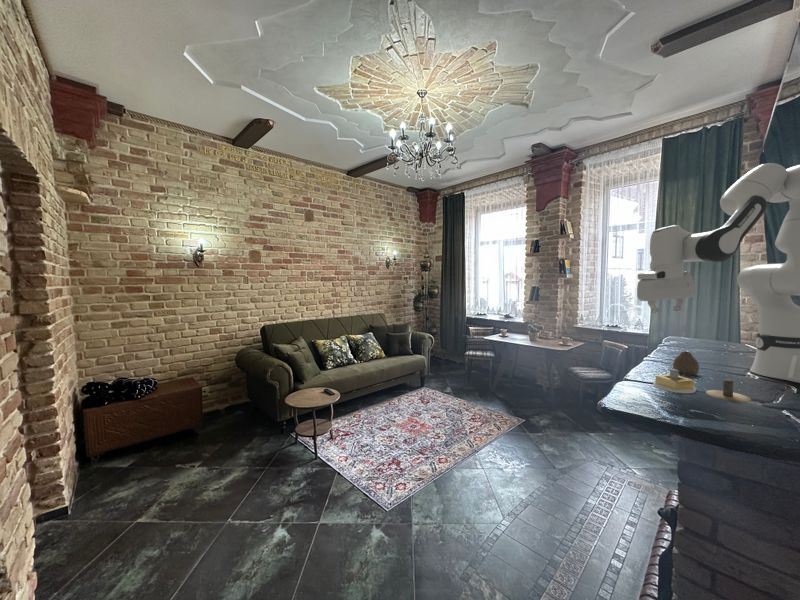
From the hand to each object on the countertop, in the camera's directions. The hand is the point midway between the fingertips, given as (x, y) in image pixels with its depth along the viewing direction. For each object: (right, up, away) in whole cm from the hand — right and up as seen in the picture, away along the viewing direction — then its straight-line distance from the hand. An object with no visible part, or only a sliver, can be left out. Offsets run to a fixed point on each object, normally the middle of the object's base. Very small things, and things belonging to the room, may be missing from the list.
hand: (666, 312), depth 111 cm
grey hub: (-9, -25, -13) cm, 29 cm away
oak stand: (0, -25, -21) cm, 32 cm away
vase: (+8, -23, +1) cm, 24 cm away
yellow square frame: (-9, -23, -13) cm, 27 cm away
